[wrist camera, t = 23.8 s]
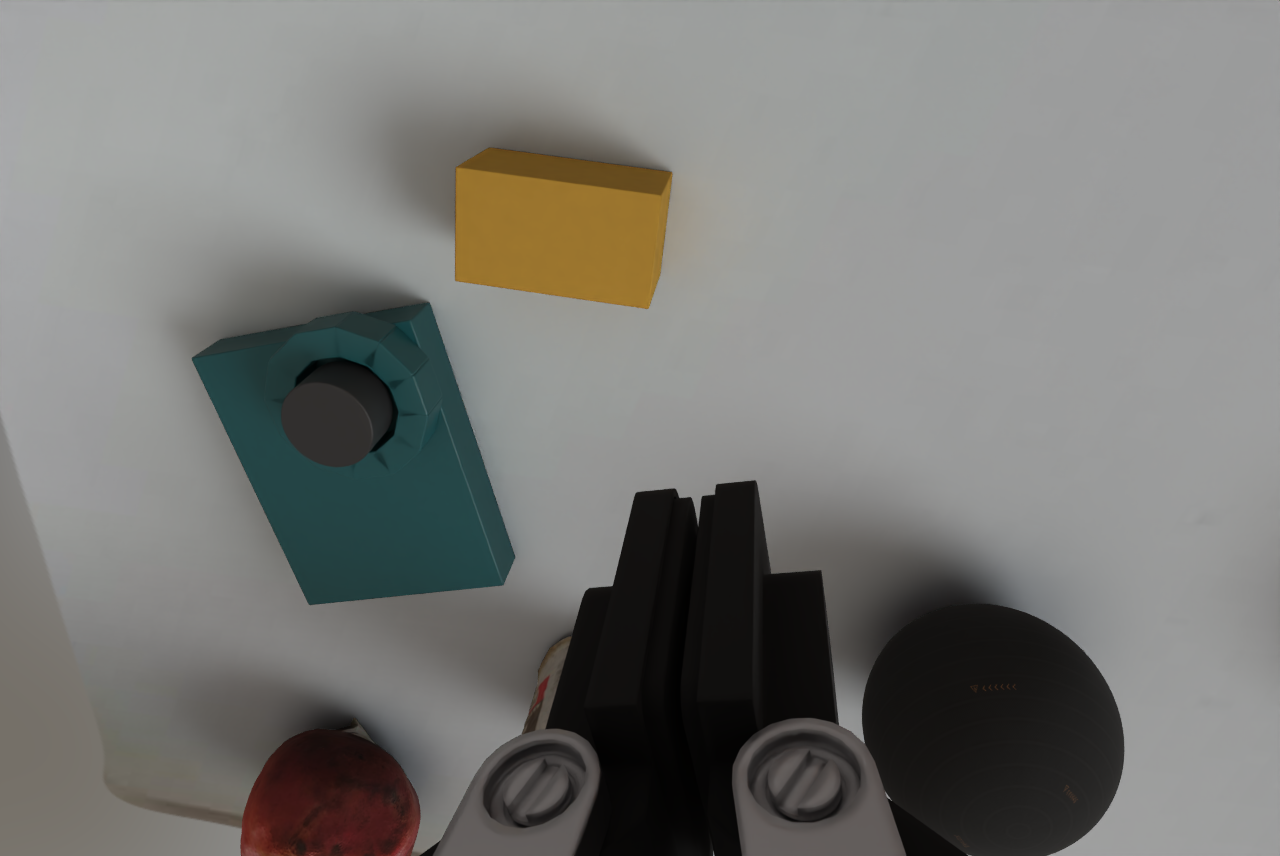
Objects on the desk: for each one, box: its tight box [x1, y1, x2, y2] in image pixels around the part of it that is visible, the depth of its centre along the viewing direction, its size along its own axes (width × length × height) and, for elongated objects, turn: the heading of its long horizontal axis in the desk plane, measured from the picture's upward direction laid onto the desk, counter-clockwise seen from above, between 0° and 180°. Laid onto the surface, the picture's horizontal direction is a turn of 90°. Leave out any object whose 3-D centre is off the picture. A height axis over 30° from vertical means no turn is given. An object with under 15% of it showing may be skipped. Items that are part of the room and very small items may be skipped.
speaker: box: [862, 604, 1124, 856], centre depth 35 cm, size 10×10×10 cm
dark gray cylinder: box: [281, 361, 393, 467], centre depth 33 cm, size 4×4×2 cm
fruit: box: [241, 718, 421, 856], centre depth 44 cm, size 9×10×10 cm
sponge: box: [455, 148, 672, 309], centre depth 31 cm, size 7×4×4 cm, turn 84°
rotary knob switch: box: [192, 302, 515, 605], centre depth 37 cm, size 14×10×4 cm
